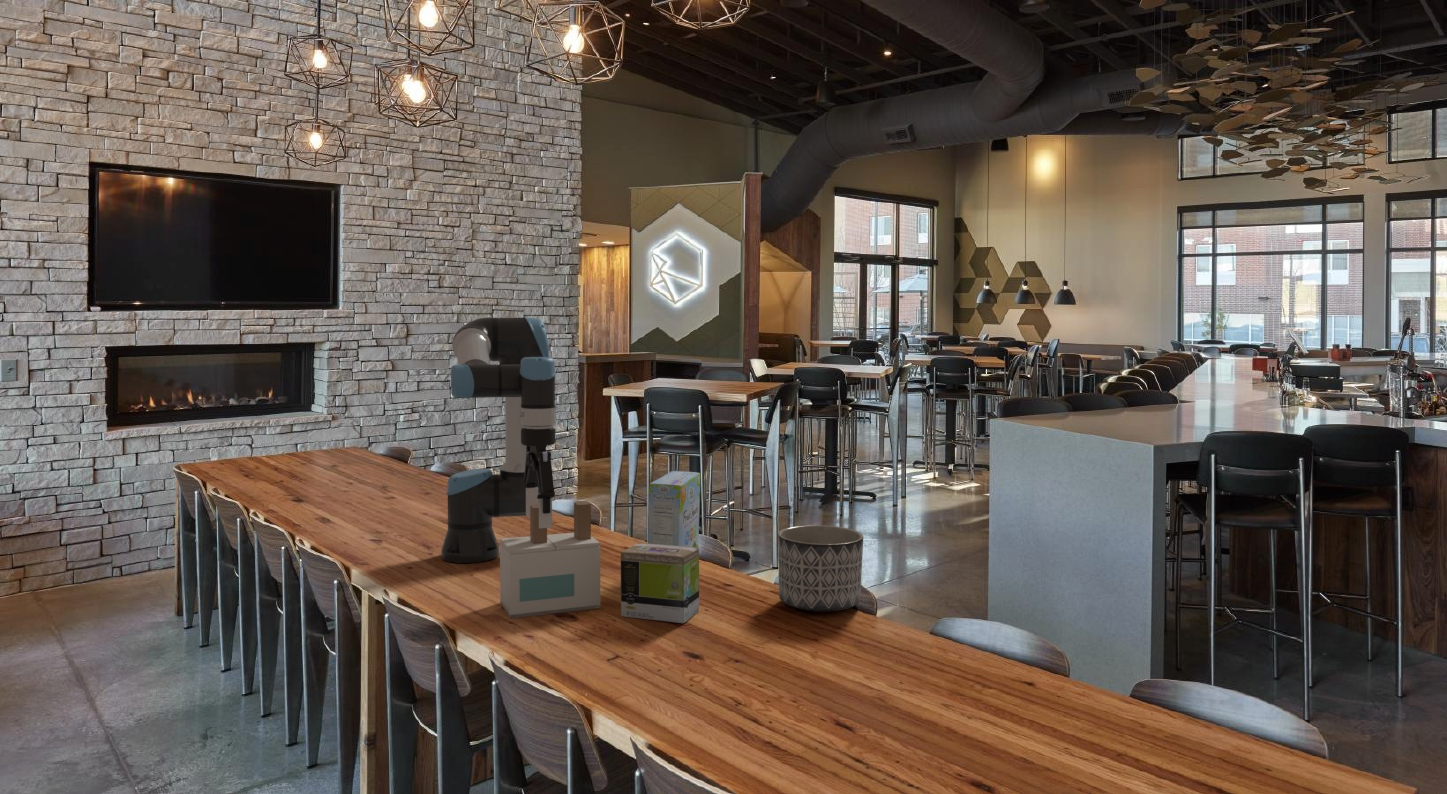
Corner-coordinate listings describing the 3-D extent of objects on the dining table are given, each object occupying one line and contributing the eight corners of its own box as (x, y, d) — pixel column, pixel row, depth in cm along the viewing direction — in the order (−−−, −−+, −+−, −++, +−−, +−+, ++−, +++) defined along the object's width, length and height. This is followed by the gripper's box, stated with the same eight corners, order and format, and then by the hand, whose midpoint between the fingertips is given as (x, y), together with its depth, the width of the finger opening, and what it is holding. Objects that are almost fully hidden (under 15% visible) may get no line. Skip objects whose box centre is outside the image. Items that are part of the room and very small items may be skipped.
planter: (766, 612, 208) (767, 539, 207) (790, 589, 226) (791, 522, 225) (851, 622, 202) (853, 547, 200) (869, 598, 220) (870, 529, 218)
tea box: (700, 611, 208) (700, 546, 207) (683, 625, 199) (684, 557, 198) (638, 604, 213) (638, 540, 212) (619, 617, 204) (619, 550, 203)
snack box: (680, 591, 224) (681, 485, 222) (645, 589, 225) (645, 483, 223) (700, 568, 245) (701, 470, 243) (668, 566, 247) (669, 469, 244)
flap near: (500, 542, 212) (500, 503, 211) (543, 538, 216) (543, 500, 215) (510, 554, 201) (510, 513, 200) (555, 550, 205) (555, 510, 204)
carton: (500, 602, 213) (499, 503, 211) (586, 593, 221) (586, 497, 219) (510, 618, 202) (509, 513, 200) (600, 608, 210) (600, 507, 208)
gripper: (510, 422, 217) (511, 512, 219) (533, 433, 194) (533, 534, 196) (542, 421, 220) (542, 510, 222) (568, 432, 197) (569, 531, 199)
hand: (538, 521), depth 209 cm, fingers open, 13 cm apart
